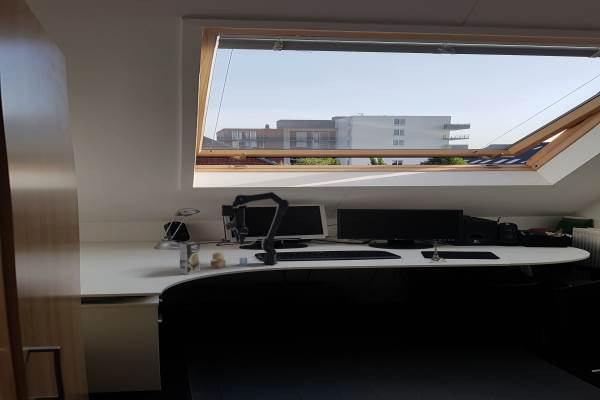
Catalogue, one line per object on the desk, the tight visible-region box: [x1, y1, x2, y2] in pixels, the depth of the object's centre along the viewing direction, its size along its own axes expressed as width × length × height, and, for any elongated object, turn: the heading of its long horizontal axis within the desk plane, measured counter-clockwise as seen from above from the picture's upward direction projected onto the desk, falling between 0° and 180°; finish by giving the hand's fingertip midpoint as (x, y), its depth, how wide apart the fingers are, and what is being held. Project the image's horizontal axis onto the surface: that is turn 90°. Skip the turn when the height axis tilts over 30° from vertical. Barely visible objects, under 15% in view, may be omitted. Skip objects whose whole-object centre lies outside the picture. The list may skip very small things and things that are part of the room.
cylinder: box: [239, 256, 248, 267], centre depth 253 cm, size 4×4×4 cm
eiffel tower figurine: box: [428, 243, 448, 264], centre depth 269 cm, size 15×10×13 cm
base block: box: [210, 259, 227, 270], centre depth 248 cm, size 6×6×4 cm
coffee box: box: [179, 240, 201, 275], centre depth 235 cm, size 9×6×16 cm
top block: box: [211, 252, 225, 262], centre depth 247 cm, size 5×5×4 cm
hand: (239, 243), depth 252 cm, fingers open, 9 cm apart
